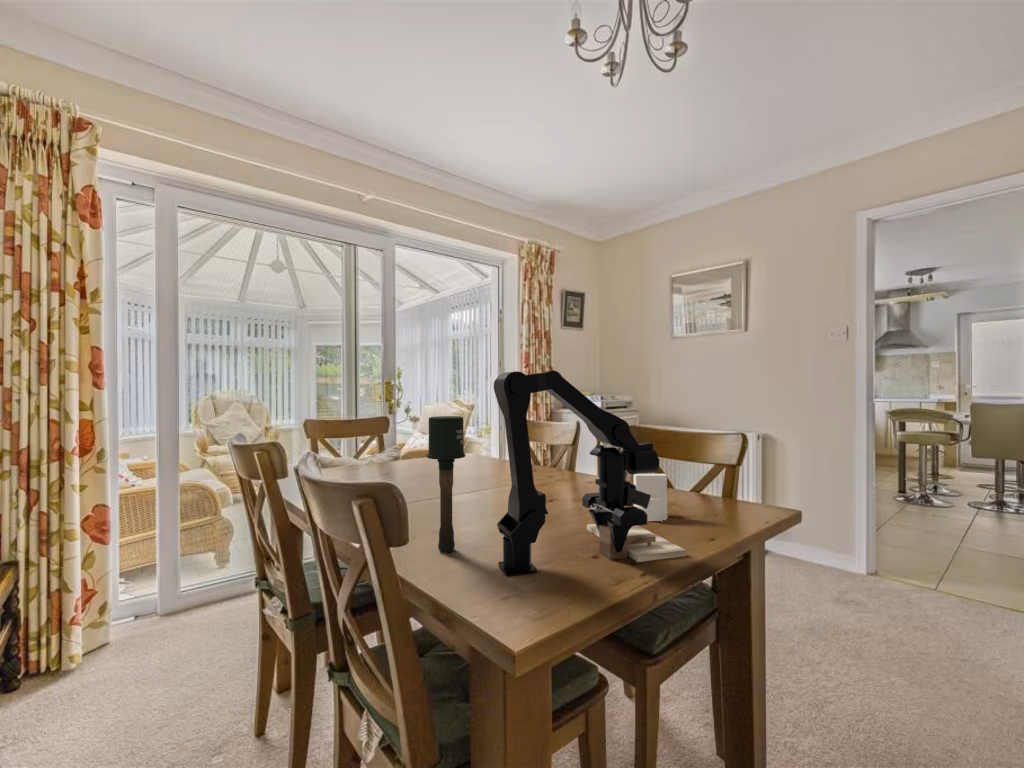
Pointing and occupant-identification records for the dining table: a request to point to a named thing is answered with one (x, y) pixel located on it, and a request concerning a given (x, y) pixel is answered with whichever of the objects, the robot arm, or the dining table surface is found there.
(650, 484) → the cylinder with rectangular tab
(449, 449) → the stick grenade
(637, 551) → the birch board
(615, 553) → the marking gauge
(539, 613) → the dining table surface
